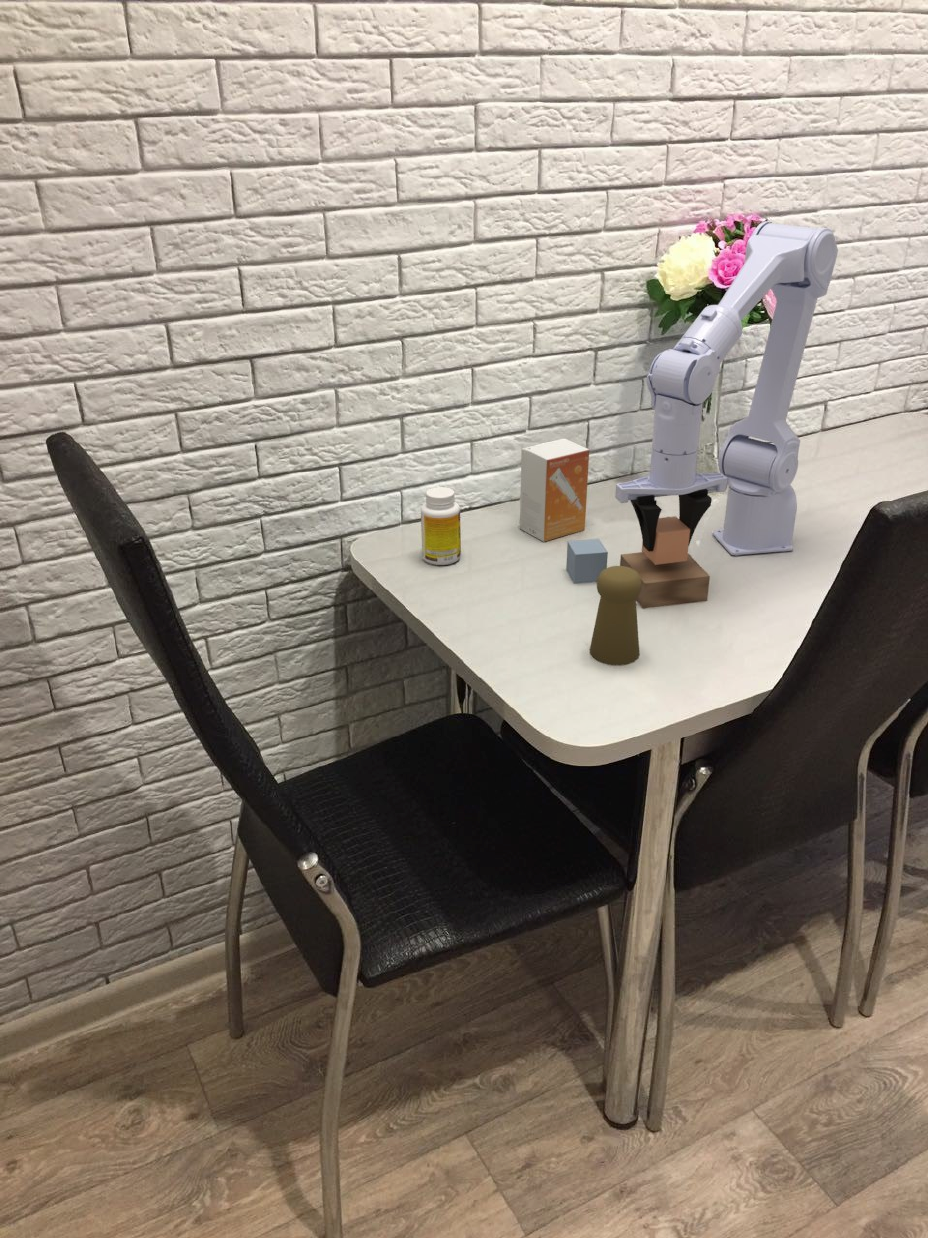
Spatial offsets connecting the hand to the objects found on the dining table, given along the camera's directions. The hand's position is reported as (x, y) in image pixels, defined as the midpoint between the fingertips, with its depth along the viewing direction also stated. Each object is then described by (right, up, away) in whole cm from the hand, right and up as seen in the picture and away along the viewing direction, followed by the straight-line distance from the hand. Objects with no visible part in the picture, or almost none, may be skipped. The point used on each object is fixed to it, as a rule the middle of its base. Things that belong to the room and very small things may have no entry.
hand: (666, 546), depth 136 cm
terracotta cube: (0, -1, +1) cm, 2 cm away
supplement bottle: (-30, -1, +13) cm, 32 cm away
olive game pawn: (-8, -14, -11) cm, 20 cm away
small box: (-13, +4, +21) cm, 25 cm away
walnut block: (0, -6, +3) cm, 7 cm away
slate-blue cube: (-10, -4, +7) cm, 13 cm away
